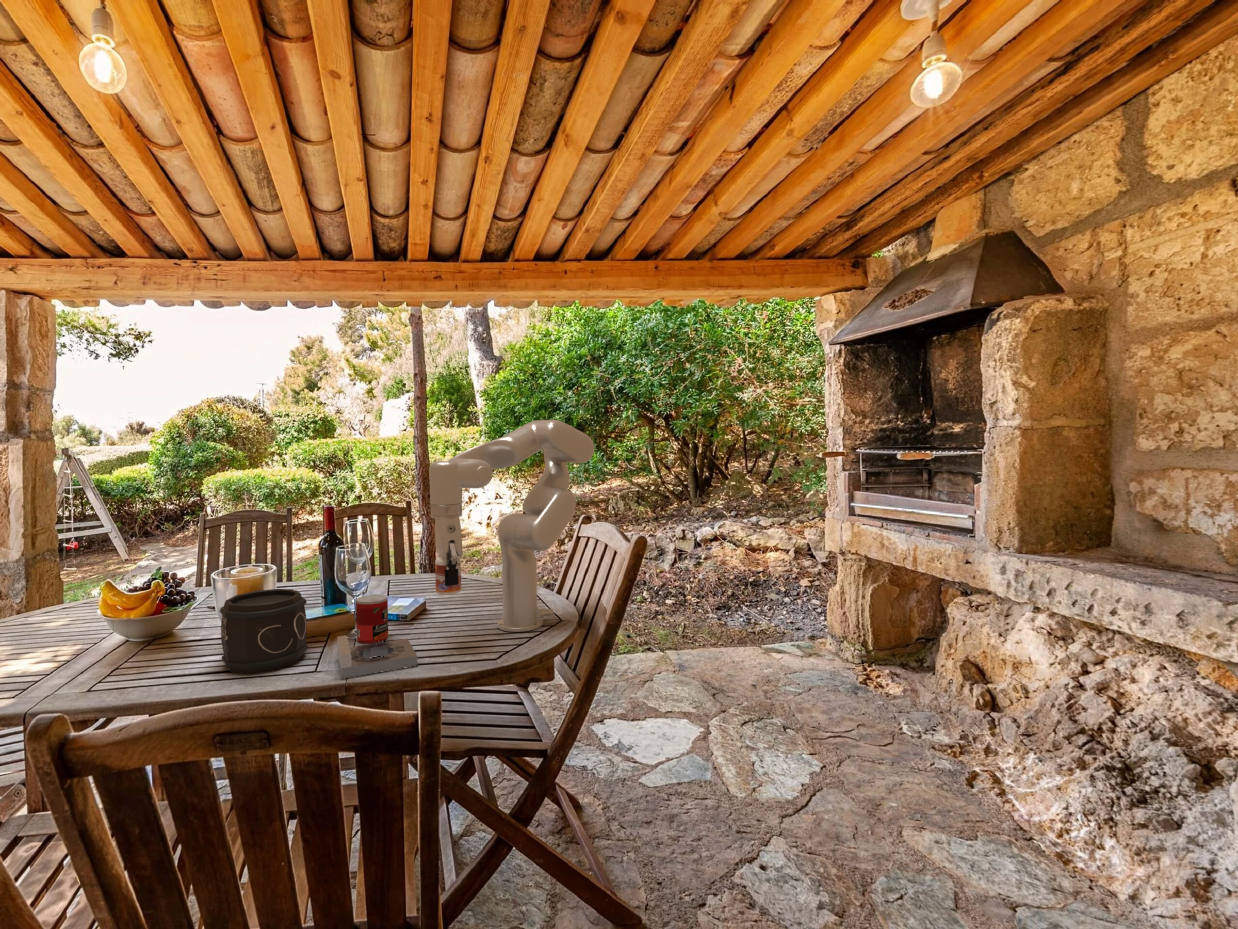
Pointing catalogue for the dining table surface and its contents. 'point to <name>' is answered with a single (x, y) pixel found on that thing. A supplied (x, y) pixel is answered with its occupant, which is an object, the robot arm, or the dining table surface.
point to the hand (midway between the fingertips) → (448, 581)
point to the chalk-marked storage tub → (263, 630)
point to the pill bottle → (441, 577)
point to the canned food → (372, 618)
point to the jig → (360, 663)
